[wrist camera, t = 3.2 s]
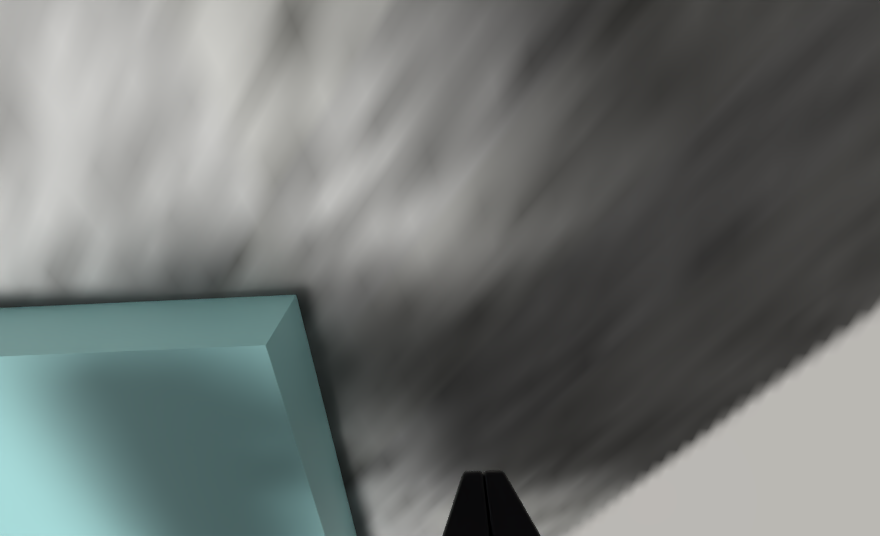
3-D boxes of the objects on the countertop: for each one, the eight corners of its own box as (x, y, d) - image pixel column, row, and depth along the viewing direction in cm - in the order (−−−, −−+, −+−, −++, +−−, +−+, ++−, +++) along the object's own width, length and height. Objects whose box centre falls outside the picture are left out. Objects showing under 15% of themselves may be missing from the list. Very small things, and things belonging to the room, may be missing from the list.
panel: (362, 525, 12) (347, 609, 10) (-44, 537, 12) (-127, 620, 10) (304, 281, 8) (265, 345, 6) (-277, 308, 8) (-467, 376, 7)
